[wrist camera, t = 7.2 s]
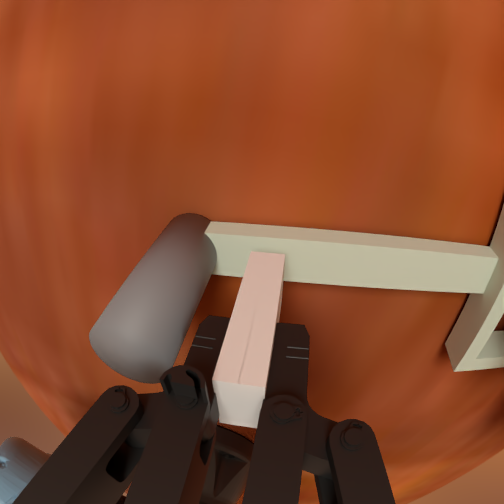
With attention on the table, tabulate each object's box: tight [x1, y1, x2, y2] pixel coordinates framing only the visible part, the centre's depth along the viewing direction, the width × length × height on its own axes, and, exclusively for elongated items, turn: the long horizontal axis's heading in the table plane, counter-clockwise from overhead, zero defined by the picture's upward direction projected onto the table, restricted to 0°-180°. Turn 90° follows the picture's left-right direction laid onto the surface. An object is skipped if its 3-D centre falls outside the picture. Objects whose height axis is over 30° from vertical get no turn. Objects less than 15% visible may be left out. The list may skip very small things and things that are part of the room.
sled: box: [89, 204, 504, 384], centre depth 11 cm, size 31×13×8 cm, turn 90°
